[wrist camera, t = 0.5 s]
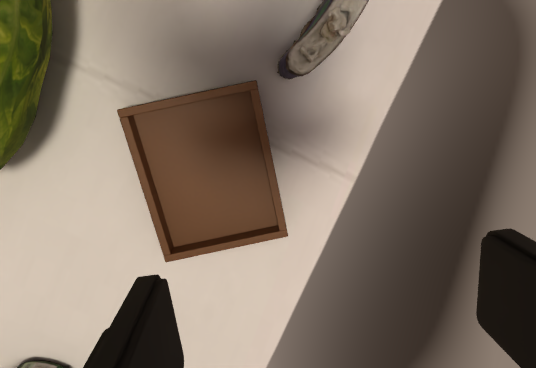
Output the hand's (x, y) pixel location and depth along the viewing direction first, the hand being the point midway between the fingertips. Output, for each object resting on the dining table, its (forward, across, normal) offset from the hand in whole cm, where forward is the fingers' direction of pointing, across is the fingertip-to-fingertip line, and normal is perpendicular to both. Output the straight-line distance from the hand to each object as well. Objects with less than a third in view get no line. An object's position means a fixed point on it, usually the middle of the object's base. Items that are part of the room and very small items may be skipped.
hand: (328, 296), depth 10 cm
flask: (+29, -5, -10) cm, 31 cm away
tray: (+28, +7, +3) cm, 29 cm away
